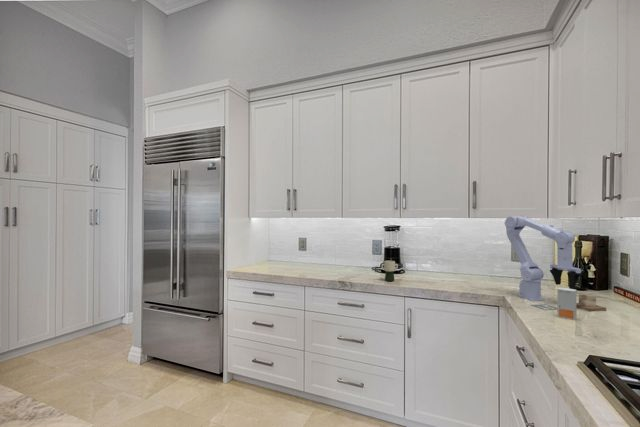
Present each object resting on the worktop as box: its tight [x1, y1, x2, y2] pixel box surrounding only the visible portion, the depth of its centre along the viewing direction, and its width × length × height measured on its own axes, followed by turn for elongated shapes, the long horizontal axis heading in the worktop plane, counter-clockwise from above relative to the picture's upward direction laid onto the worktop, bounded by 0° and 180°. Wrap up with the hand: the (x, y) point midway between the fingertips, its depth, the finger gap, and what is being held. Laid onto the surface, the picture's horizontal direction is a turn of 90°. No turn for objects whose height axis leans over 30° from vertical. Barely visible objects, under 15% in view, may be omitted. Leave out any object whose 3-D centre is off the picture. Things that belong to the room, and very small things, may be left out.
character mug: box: [380, 260, 399, 282], centre depth 221 cm, size 11×7×13 cm, turn 91°
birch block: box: [578, 292, 597, 307], centre depth 154 cm, size 4×5×5 cm
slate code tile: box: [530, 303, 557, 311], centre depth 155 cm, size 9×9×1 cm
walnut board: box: [576, 302, 607, 313], centre depth 154 cm, size 9×9×2 cm
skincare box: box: [556, 287, 577, 320], centre depth 140 cm, size 6×4×12 cm
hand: (565, 286), depth 159 cm, fingers open, 7 cm apart
